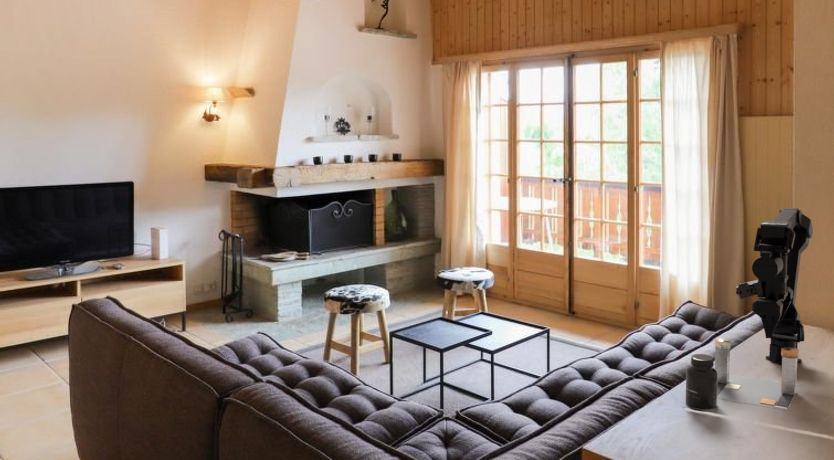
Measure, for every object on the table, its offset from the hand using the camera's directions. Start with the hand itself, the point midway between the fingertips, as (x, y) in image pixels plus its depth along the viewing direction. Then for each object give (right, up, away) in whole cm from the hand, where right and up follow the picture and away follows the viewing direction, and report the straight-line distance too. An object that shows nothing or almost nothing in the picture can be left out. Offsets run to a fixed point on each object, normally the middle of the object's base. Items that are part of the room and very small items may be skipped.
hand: (772, 332), depth 179 cm
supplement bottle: (-24, -15, -14) cm, 32 cm away
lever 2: (-1, -13, -11) cm, 17 cm away
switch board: (-9, -14, -8) cm, 18 cm away
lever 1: (-14, -12, -2) cm, 18 cm away
